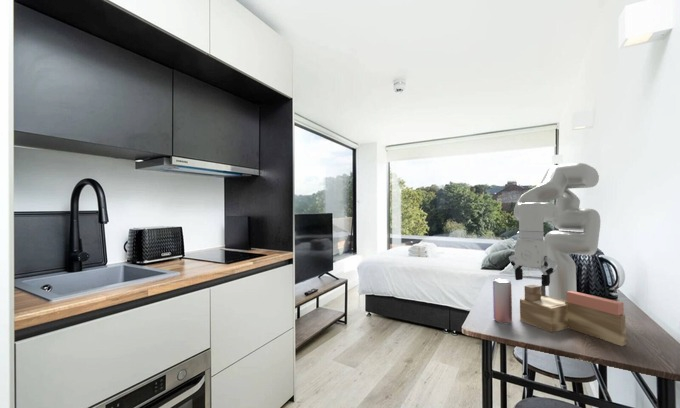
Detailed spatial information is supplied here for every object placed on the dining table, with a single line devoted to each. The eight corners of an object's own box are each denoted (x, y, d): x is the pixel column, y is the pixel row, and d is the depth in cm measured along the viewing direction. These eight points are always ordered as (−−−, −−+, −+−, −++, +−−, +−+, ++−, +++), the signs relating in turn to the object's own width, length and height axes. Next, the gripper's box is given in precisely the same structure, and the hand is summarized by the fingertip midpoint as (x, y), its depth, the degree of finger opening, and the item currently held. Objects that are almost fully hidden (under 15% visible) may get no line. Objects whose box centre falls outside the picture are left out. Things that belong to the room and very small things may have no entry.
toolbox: (542, 314, 112) (542, 285, 112) (629, 343, 88) (628, 305, 88) (519, 320, 107) (519, 289, 107) (605, 352, 83) (604, 312, 83)
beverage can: (490, 318, 109) (489, 278, 110) (505, 317, 110) (504, 278, 110) (500, 324, 103) (499, 282, 104) (516, 323, 104) (515, 282, 104)
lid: (543, 298, 110) (543, 282, 110) (568, 305, 102) (568, 288, 102) (524, 302, 106) (524, 286, 106) (549, 309, 98) (549, 292, 98)
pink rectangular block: (572, 300, 101) (571, 290, 101) (623, 314, 88) (623, 302, 88) (566, 301, 100) (566, 291, 100) (618, 315, 87) (618, 304, 87)
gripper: (502, 234, 112) (503, 278, 112) (549, 238, 97) (550, 289, 96) (515, 234, 115) (516, 276, 115) (563, 237, 99) (564, 287, 99)
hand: (531, 282), depth 105 cm, fingers open, 9 cm apart
